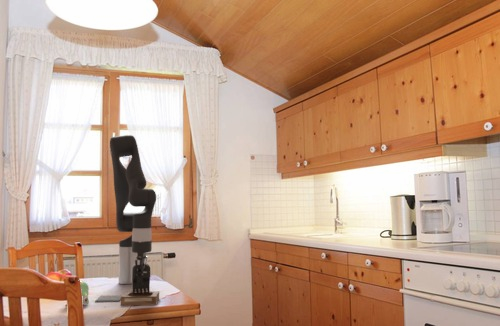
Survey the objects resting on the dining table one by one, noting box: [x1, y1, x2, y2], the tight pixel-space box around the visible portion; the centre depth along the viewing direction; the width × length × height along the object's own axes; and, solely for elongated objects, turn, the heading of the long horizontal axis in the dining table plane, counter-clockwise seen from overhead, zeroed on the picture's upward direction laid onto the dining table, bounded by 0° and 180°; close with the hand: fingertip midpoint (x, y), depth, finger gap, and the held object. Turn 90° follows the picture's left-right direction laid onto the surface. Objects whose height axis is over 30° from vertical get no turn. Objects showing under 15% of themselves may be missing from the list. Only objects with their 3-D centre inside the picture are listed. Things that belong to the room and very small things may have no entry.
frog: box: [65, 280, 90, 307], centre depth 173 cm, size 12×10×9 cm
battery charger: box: [131, 263, 151, 295], centre depth 176 cm, size 7×4×11 cm, turn 111°
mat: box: [94, 294, 123, 303], centre depth 181 cm, size 9×9×1 cm
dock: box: [120, 290, 160, 306], centre depth 176 cm, size 10×13×3 cm
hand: (141, 283), depth 176 cm, fingers closed on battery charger, 4 cm apart
